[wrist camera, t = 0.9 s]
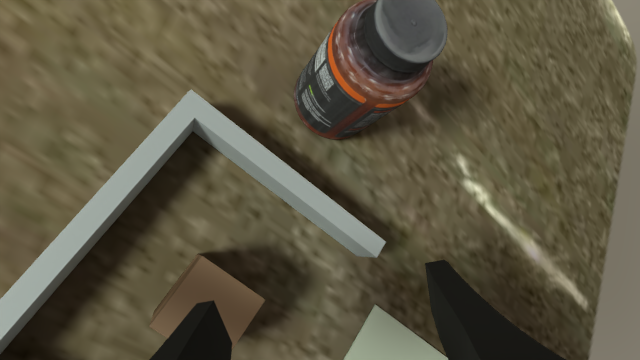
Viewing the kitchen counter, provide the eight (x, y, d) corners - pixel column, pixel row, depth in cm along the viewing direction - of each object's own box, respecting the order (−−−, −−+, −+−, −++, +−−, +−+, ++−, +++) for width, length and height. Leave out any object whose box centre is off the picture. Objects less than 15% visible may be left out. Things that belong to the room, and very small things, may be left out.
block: (210, 346, 25) (218, 370, 20) (154, 310, 24) (149, 326, 19) (249, 289, 26) (265, 299, 21) (197, 253, 25) (202, 256, 20)
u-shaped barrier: (203, 508, 23) (207, 544, 20) (-46, 368, 20) (-81, 388, 18) (365, 242, 29) (386, 241, 26) (189, 105, 26) (190, 89, 23)
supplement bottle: (381, 100, 31) (485, 27, 21) (338, 158, 29) (430, 109, 19) (322, 47, 30) (401, -59, 20) (274, 103, 28) (332, 19, 18)
